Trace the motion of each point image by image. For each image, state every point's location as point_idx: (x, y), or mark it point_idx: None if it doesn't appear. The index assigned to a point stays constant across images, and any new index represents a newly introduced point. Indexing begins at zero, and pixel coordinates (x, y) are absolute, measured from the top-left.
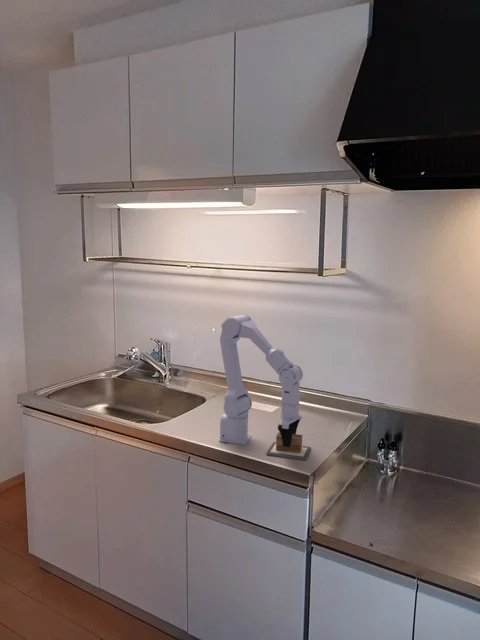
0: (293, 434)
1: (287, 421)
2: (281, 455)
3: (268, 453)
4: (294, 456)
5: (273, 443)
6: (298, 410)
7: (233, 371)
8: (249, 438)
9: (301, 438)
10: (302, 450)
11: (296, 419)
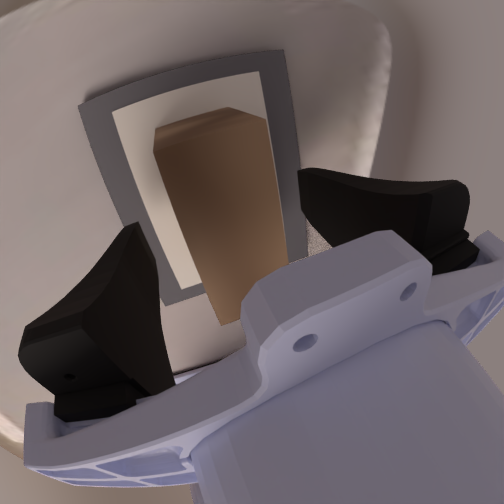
0: (193, 227)
1: (480, 306)
2: None
3: (305, 248)
4: (284, 119)
5: (181, 297)
6: (459, 487)
7: None
8: (190, 372)
9: (195, 133)
10: (170, 115)
11: (435, 288)
